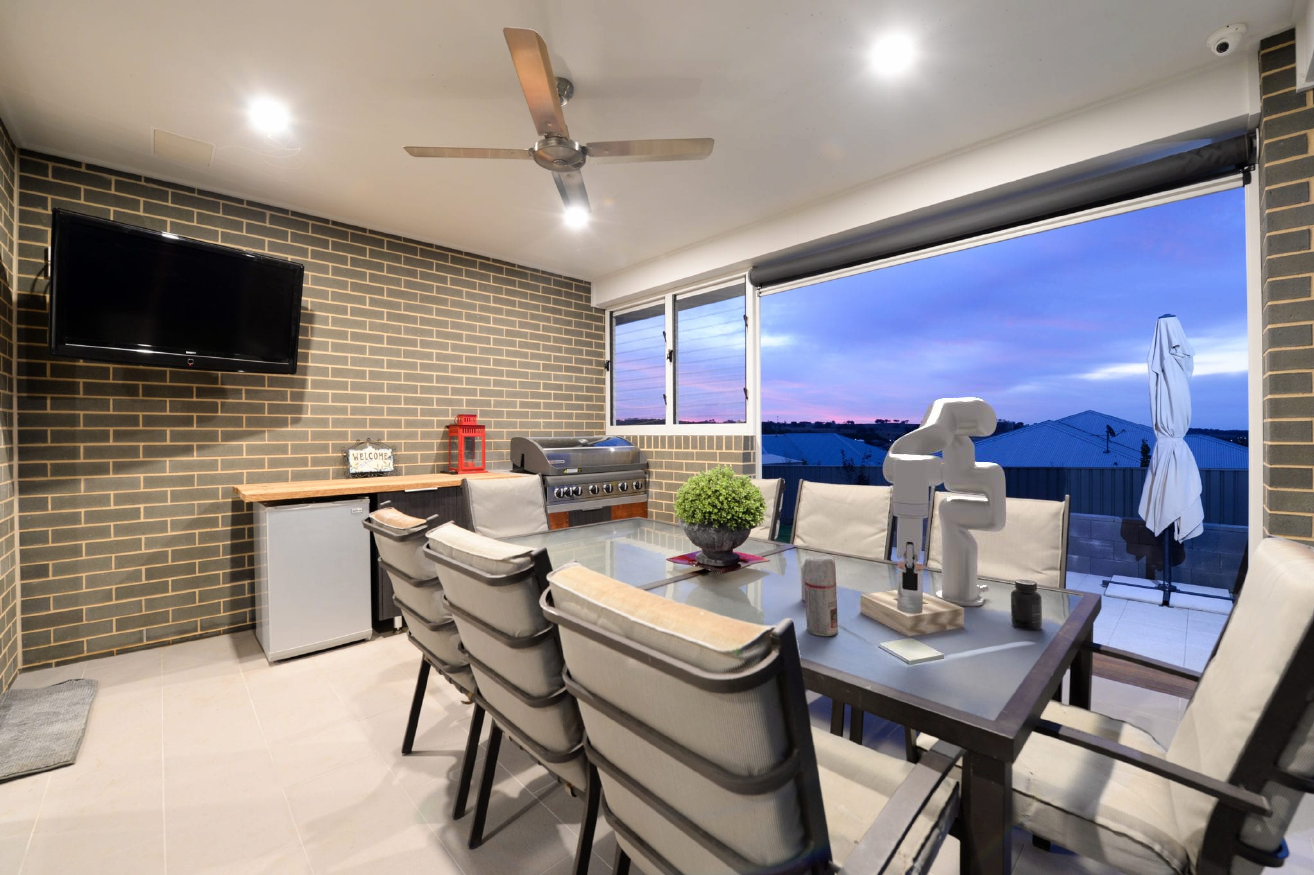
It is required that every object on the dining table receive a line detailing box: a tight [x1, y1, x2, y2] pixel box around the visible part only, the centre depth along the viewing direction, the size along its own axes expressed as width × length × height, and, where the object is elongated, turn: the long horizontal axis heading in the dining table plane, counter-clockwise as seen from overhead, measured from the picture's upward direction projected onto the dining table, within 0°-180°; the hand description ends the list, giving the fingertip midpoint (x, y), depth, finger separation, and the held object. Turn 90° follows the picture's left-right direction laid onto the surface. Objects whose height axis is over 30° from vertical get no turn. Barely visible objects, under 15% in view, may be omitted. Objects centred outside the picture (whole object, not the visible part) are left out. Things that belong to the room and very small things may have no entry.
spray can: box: [804, 554, 839, 637], centre depth 140 cm, size 8×8×20 cm
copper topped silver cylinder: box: [896, 560, 924, 614], centre depth 126 cm, size 5×5×11 cm
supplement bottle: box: [1010, 579, 1043, 632], centre depth 142 cm, size 7×7×12 cm
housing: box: [859, 589, 965, 638], centre depth 145 cm, size 18×18×6 cm
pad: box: [877, 637, 945, 666], centre depth 126 cm, size 10×10×1 cm
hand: (910, 585), depth 126 cm, fingers closed on copper topped silver cylinder, 5 cm apart
